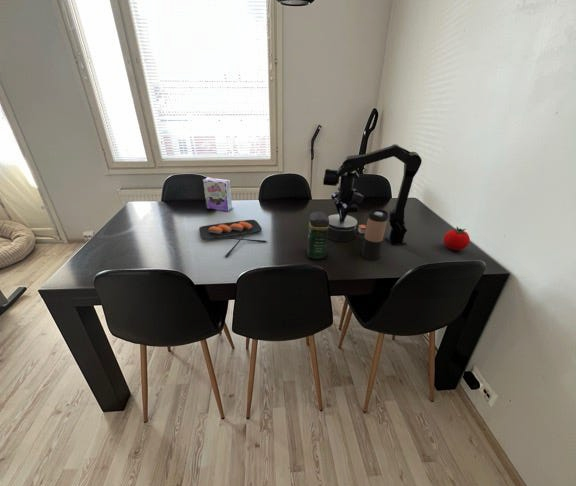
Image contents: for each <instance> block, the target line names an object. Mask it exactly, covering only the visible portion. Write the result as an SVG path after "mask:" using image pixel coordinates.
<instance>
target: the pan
mask: <svg viewBox="0 0 576 486" xmlns="http://www.w3.org/2000/svg"><path fill="white" fill-rule="evenodd" d="M356 229H357V225H356V226H354V227H351V228H338V227H334V226H331V225H329V229H328V237H327V239H330V240H332V241H336V242H349V241H352V240H353V239H354V238H355V235H356Z"/></svg>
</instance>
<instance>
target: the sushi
mask: <svg viewBox="0 0 576 486" xmlns="http://www.w3.org/2000/svg"><path fill="white" fill-rule="evenodd" d="M366 226H367V223H365V224H358V229H357V232H358V233H359V234H360V235H362V234H364V235H365V231H366Z"/></svg>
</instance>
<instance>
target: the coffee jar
mask: <svg viewBox="0 0 576 486" xmlns="http://www.w3.org/2000/svg"><path fill="white" fill-rule="evenodd" d="M328 216H329V215H328V214H327V213H325V212H324V211H312V212H311V214H310V215H309V221H308V233H307V235H308V236H307V245H306V254H307V256H308V258H310V259H314V260H321V259H324V258H325V257H326V254H327V244H328V229H329V217H328Z"/></svg>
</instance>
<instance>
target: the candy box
mask: <svg viewBox="0 0 576 486" xmlns="http://www.w3.org/2000/svg"><path fill="white" fill-rule="evenodd" d="M202 185H203V192H204V200H205V207H206V209H210V210H214V211H219V212H230V211H231V210H232V209H233V202H232V201H233V200H232V187H231V180H230V179H223V178H215V177H210V176H207V177H205V178H204V179H202Z"/></svg>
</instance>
